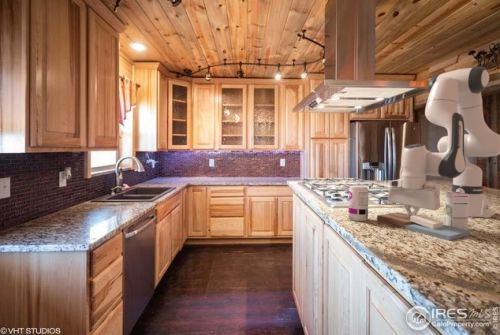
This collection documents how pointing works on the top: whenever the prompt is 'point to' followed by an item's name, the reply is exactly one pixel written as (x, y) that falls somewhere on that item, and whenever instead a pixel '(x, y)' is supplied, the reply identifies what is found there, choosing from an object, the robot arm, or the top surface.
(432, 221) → the cream rectangular block
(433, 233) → the mat
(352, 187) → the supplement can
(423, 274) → the top surface
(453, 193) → the syrup box
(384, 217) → the brown square tile
